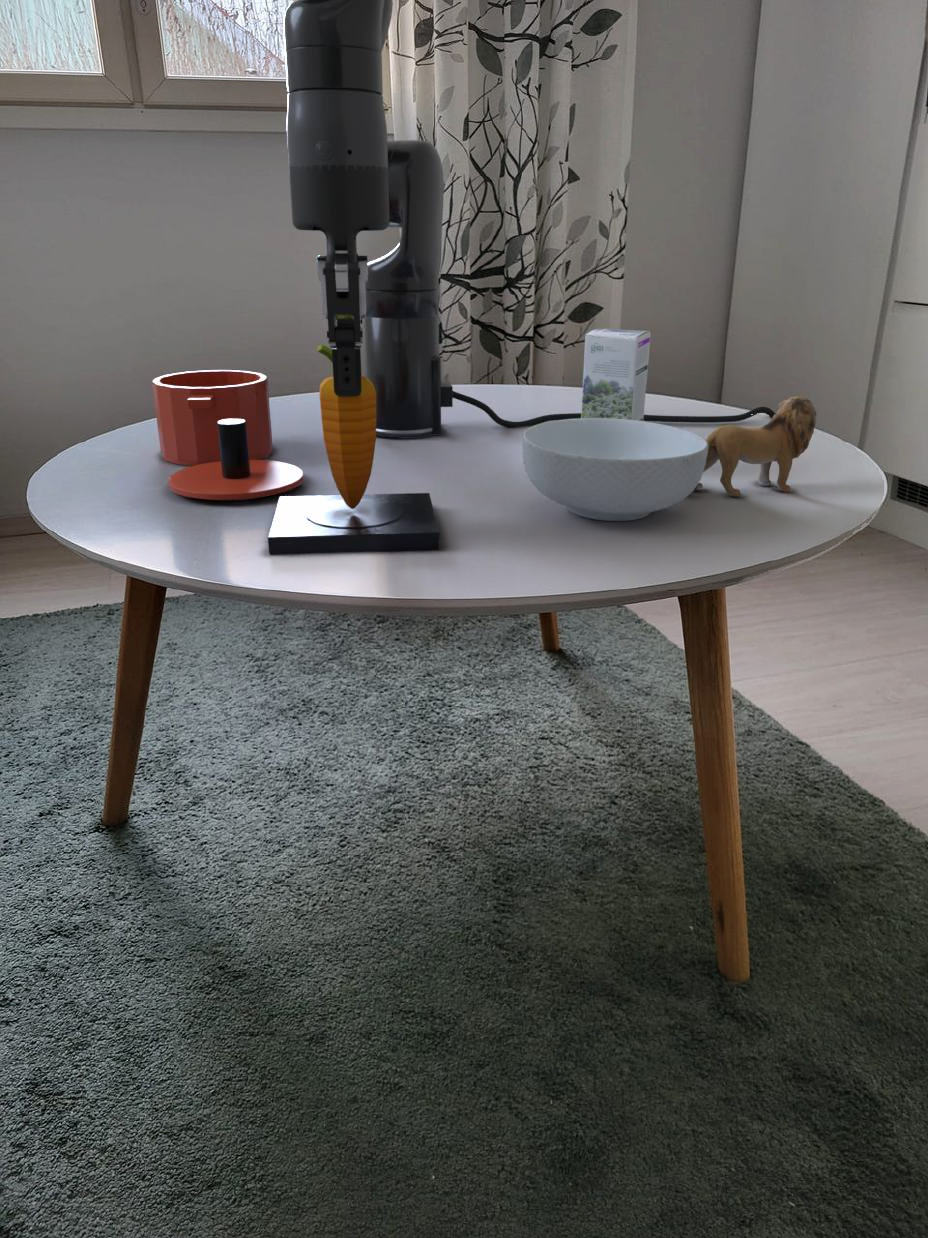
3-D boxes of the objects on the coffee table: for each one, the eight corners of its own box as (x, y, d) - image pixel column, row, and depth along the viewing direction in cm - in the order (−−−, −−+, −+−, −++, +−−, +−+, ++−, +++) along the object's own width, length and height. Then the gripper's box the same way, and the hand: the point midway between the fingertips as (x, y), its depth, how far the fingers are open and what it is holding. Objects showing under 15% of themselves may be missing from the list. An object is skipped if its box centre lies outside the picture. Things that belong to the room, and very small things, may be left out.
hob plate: (429, 507, 89) (429, 491, 88) (439, 549, 78) (439, 531, 77) (280, 511, 87) (279, 495, 87) (269, 554, 76) (267, 536, 76)
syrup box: (641, 463, 105) (652, 329, 99) (627, 475, 100) (637, 335, 94) (593, 458, 107) (600, 326, 101) (576, 469, 102) (583, 332, 96)
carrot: (371, 518, 79) (364, 335, 73) (316, 514, 80) (304, 333, 74) (387, 502, 84) (382, 328, 78) (335, 499, 84) (326, 326, 79)
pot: (278, 435, 117) (272, 365, 114) (265, 471, 101) (258, 391, 97) (177, 437, 116) (168, 367, 112) (147, 473, 100) (136, 393, 96)
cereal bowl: (575, 547, 78) (580, 464, 76) (491, 496, 92) (492, 424, 90) (738, 523, 85) (748, 446, 82) (636, 479, 99) (642, 412, 96)
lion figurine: (782, 475, 100) (795, 391, 97) (819, 488, 96) (834, 399, 92) (672, 491, 94) (680, 401, 91) (706, 505, 90) (716, 411, 86)
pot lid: (307, 469, 102) (303, 407, 99) (300, 504, 90) (295, 434, 87) (181, 471, 101) (174, 409, 98) (157, 507, 88) (148, 437, 86)
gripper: (390, 158, 65) (396, 405, 72) (385, 166, 78) (391, 375, 85) (281, 157, 64) (297, 407, 71) (294, 166, 77) (307, 376, 84)
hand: (348, 388), depth 78 cm, fingers closed on carrot, 4 cm apart
